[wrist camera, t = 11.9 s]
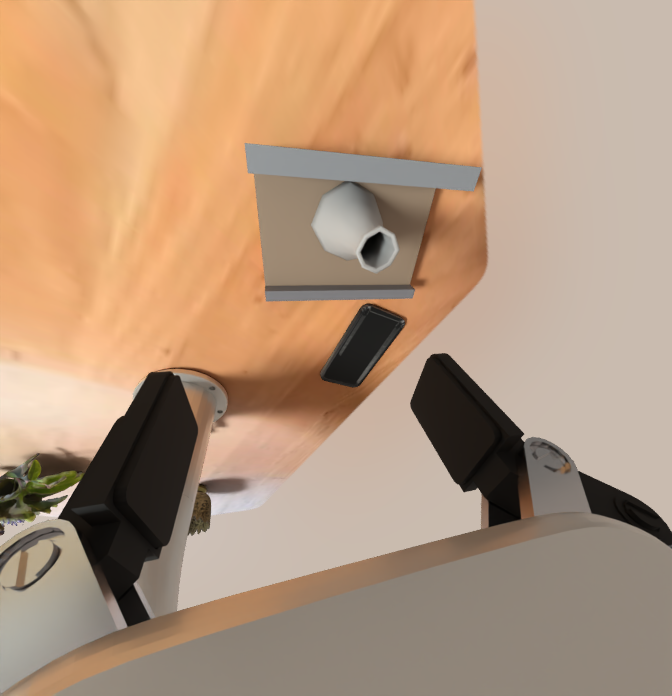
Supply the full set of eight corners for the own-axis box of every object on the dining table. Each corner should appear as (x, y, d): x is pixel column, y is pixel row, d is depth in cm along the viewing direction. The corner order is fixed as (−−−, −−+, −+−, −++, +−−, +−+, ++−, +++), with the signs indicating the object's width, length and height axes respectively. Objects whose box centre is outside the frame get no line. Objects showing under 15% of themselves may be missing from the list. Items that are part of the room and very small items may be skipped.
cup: (177, 480, 52) (164, 524, 45) (216, 477, 54) (208, 519, 48) (180, 496, 56) (169, 539, 50) (216, 493, 58) (209, 533, 52)
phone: (407, 321, 37) (357, 388, 44) (404, 317, 38) (355, 384, 45) (365, 303, 34) (318, 379, 41) (363, 299, 35) (317, 374, 42)
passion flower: (50, 447, 46) (-60, 507, 36) (45, 422, 40) (-88, 486, 30) (93, 489, 46) (-5, 560, 36) (94, 470, 40) (-23, 550, 30)
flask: (393, 220, 27) (442, 247, 19) (345, 270, 29) (372, 312, 21) (348, 161, 23) (386, 164, 15) (297, 225, 25) (308, 256, 17)
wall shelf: (401, 287, 34) (429, 316, 28) (266, 288, 30) (265, 322, 24) (432, 164, 26) (481, 167, 20) (252, 146, 22) (244, 143, 16)
